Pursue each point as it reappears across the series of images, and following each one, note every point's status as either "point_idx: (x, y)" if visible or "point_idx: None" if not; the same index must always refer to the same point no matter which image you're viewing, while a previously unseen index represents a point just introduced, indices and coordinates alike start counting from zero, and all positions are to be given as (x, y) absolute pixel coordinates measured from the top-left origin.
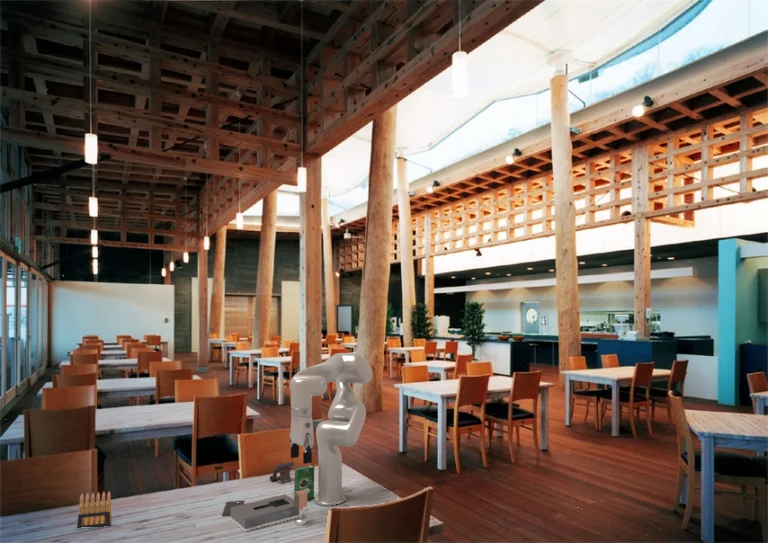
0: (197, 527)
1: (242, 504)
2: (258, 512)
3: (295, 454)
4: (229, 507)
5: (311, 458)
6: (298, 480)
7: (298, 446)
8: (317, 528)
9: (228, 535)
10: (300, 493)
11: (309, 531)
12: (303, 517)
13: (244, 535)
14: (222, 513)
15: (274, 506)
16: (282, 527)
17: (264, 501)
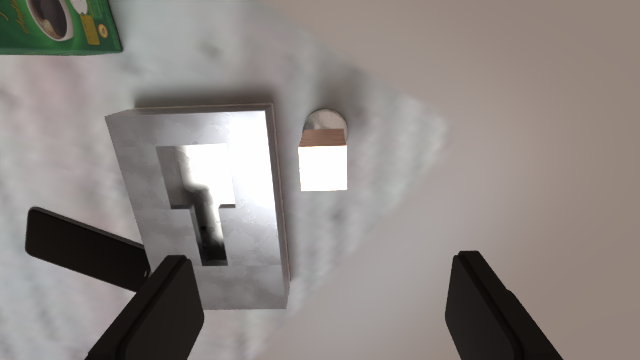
0: (195, 349)
1: (69, 225)
2: (254, 265)
3: (186, 310)
4: (84, 263)
5: (494, 277)
6: (42, 46)
7: (114, 352)
8: (404, 104)
9: (286, 315)
10: (342, 181)
11: (407, 138)
12: (316, 120)
13: (310, 289)
14: (127, 289)
15: (174, 174)
16: (321, 193)
17: (155, 214)
